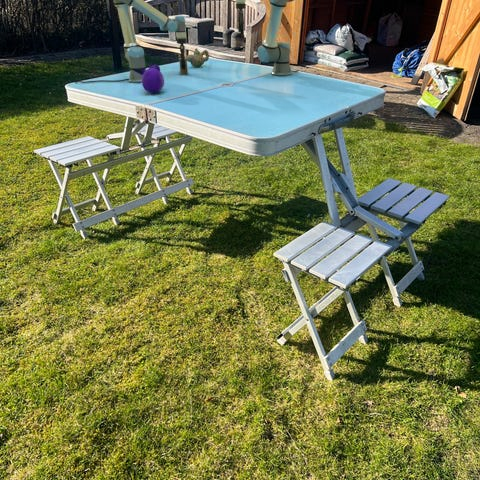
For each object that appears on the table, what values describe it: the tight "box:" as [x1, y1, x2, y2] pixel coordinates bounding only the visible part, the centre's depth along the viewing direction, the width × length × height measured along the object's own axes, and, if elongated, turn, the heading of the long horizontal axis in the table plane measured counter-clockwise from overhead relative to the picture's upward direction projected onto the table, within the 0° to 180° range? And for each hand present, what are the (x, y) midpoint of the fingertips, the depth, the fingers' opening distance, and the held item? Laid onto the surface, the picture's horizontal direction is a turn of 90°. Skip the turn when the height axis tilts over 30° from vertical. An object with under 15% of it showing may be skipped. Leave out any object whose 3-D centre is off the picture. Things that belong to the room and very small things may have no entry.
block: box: [178, 57, 189, 76], centre depth 359 cm, size 6×5×12 cm
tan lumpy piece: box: [185, 48, 210, 68], centre depth 384 cm, size 21×12×15 cm, turn 120°
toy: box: [134, 64, 165, 94], centre depth 304 cm, size 16×18×27 cm
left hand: (183, 68), depth 360 cm, fingers open, 10 cm apart
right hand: (241, 33), depth 358 cm, fingers open, 13 cm apart
